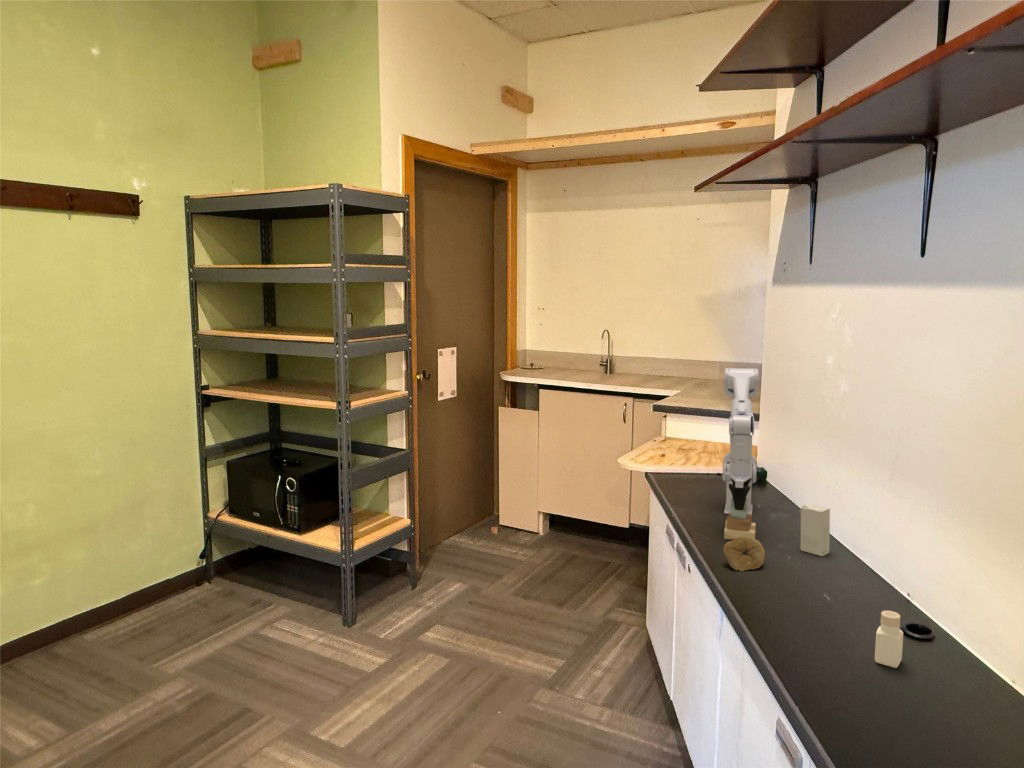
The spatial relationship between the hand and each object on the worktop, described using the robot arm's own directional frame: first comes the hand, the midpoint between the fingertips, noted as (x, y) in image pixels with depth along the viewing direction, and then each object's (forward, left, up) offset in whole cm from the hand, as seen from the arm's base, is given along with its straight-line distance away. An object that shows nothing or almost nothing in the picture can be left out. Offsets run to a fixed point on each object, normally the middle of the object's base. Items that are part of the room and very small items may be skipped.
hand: (739, 505), depth 198 cm
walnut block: (0, 0, -6) cm, 6 cm away
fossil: (+21, +2, -9) cm, 23 cm away
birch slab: (0, 0, -9) cm, 9 cm away
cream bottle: (+60, +29, -9) cm, 67 cm away
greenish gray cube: (0, 0, -3) cm, 3 cm away
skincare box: (+7, +19, -9) cm, 22 cm away
